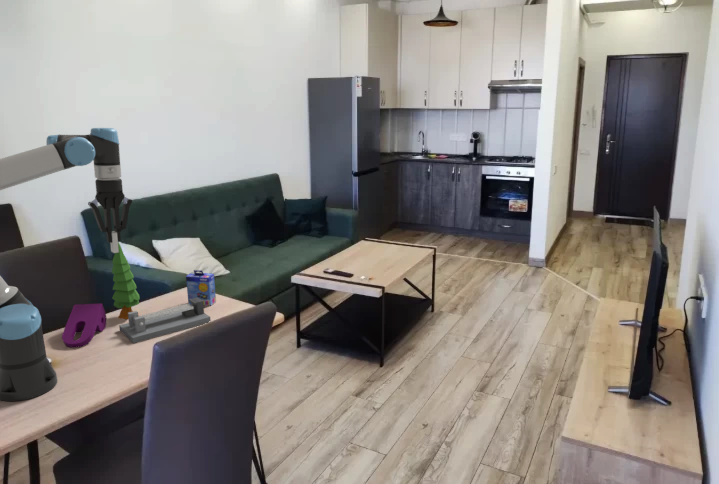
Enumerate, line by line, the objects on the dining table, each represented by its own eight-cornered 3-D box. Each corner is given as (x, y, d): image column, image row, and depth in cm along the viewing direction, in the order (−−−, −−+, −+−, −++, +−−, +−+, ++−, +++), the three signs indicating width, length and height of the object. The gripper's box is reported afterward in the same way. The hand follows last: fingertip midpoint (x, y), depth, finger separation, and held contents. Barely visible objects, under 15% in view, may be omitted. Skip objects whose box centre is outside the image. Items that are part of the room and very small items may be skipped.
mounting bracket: (94, 359, 184) (108, 319, 198) (88, 343, 179) (102, 303, 193) (65, 360, 183) (81, 320, 197) (57, 344, 178) (74, 304, 192)
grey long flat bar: (136, 325, 187) (135, 320, 187) (132, 321, 190) (131, 317, 190) (193, 309, 200) (193, 305, 200) (189, 306, 203) (188, 302, 203)
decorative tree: (123, 311, 210) (114, 236, 203) (147, 311, 210) (138, 236, 202) (111, 321, 201) (101, 243, 193) (135, 321, 200) (127, 243, 193)
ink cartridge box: (187, 305, 217) (184, 270, 213) (193, 300, 222) (190, 266, 218) (211, 306, 215) (208, 271, 212) (216, 301, 221) (214, 267, 217)
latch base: (133, 343, 183) (131, 324, 181) (119, 330, 193) (117, 312, 191) (210, 321, 200) (209, 304, 198) (194, 311, 210) (193, 294, 209)
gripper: (89, 181, 161) (97, 257, 167) (134, 178, 170) (139, 251, 175) (82, 178, 167) (89, 252, 172) (125, 176, 175) (131, 246, 181)
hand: (114, 251), depth 174 cm, fingers closed
